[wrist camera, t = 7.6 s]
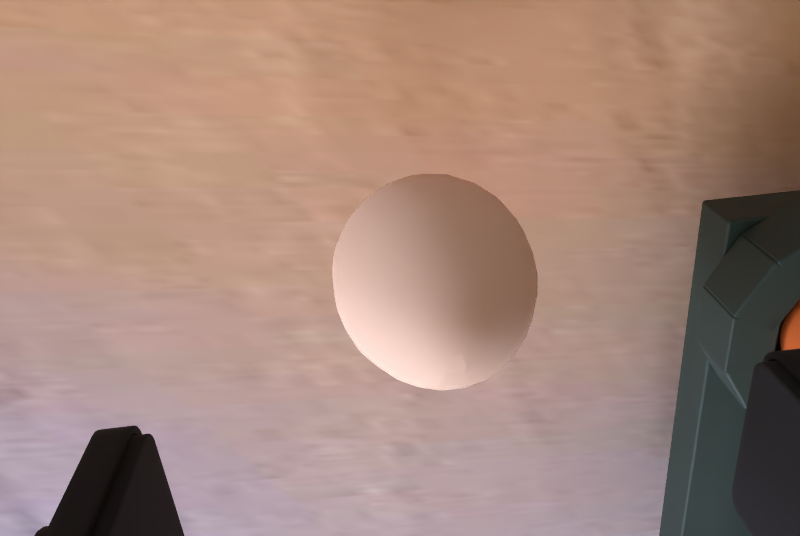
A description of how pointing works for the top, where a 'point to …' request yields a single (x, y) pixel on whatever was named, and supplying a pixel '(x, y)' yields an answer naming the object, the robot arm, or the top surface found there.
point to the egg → (435, 281)
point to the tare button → (791, 329)
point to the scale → (727, 351)
